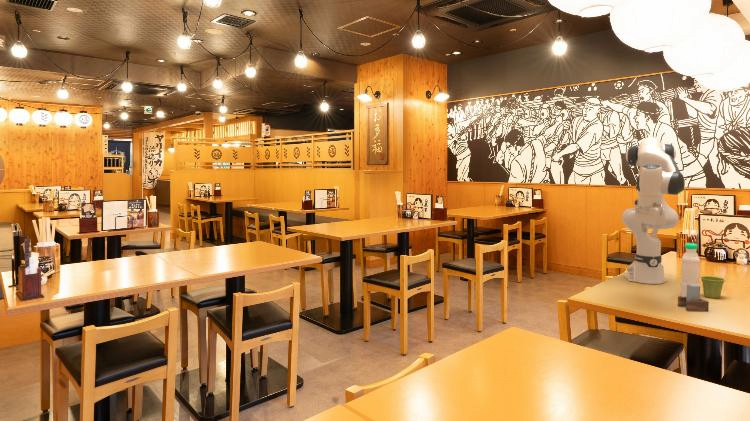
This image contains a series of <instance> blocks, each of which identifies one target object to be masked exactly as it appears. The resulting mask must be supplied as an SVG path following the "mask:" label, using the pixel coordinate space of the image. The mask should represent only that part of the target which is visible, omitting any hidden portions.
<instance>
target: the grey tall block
mask: <svg viewBox="0 0 750 421" xmlns="http://www.w3.org/2000/svg"><path fill="white" fill-rule="evenodd" d="M700 298H701V285H699V286H698V285H696V284H687V296H686V301H700Z"/></svg>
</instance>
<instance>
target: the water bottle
mask: <svg viewBox="0 0 750 421" xmlns="http://www.w3.org/2000/svg"><path fill="white" fill-rule="evenodd" d="M698 246H699V245H698V244H697V243H692V242H691V243H690V242H689V243H685V247H684V248H685V252H684V254H683V255H682V257H681V267H680V268H681V269H680V271H681V272H680V280H681V281H680V292H679V295H680V296H679V297H686V296H687V284H696V285H698V286H700V284H699V282H700V272H701V271H700V269H701V268H700V267H701V266H700V262H701V259H700V257H699V254H698V253H697V250H698Z"/></svg>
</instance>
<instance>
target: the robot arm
mask: <svg viewBox="0 0 750 421" xmlns="http://www.w3.org/2000/svg"><path fill="white" fill-rule="evenodd" d="M676 157H677V156H676V149H675V146H674V145H673V144H669V143H664V144H662V142H661V140H660V139H659V138H657V137H655V136H650V137H646V138H644V139H642V140H641V142H640V143H639V145H634V146H630V147H629V148H628V149H627V151H626V155H625V160H626V162H627V164H628V165H629V166H630V167H639V169H638V170H639V171H638V176H636V177H635V180H636V181H635V182H636V186H635V190H637V196H638V198H637V199H635V200H633V202H634V203H633V204H634V207H630V208H626V209H625V210H624V211H623V212H622V214H621V220H622V223H623V225H624V226H625V227H627V229H629V230H630V231H631V233H632V234H633V235H634V237H635V243H636V253H635V256H634V261H632V263H630V264H629V266H627V267H626V271H627V273H626V272H625V273H623V276H624V278H625V279H626V280H627V281H628V282H634V283H638V284H647V285H649V284H650V285H660V284H661V285H662V284H664V283H665V282H668V281H667V279H666V278H665V268H664V265H663V264H662V260H663V258H662V254H661V253H662V241H661V240H660V238H659V237H657V236H658V231H659V230H667V229H673V228H675V227H676V226H677V225H678V224H679V221H680V218H679V216H680V215H679V213H678V212H677V211H676V210H675V209H674V208H672V206H670V205H669V204H668V203H667V202H666V199H665V198H664V195H673V196H675V195H676V196H677V195H679V194H680V193H682V192H683V191H684V189H685V186H686V180H685V177H684V174H683V173H682V172H681V171H680V168H679V167H678V165H677V163H676V161H675V159H676ZM650 229H652V231H650V232H651V233H649V230H650Z"/></svg>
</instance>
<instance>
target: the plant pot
mask: <svg viewBox="0 0 750 421" xmlns="http://www.w3.org/2000/svg"><path fill="white" fill-rule="evenodd" d="M700 279H701V283H702V290H703V296H704V297H708V298H710V299H719V298H721V294H722V289H723V285H724V283H725V282H726V278H723V277H719V276H713V275H703V276H700Z"/></svg>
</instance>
